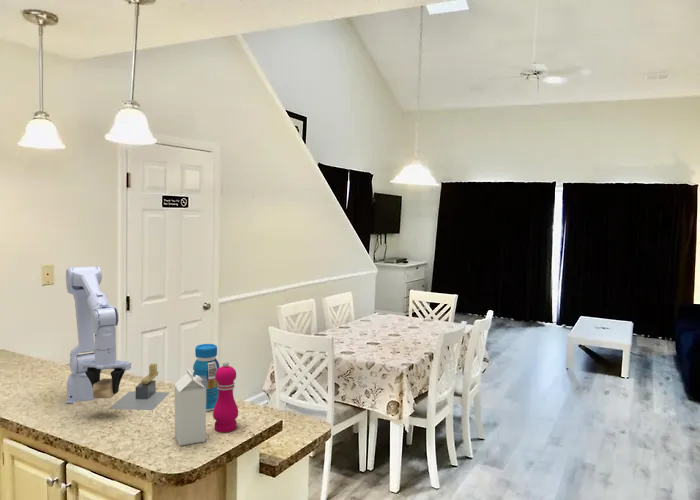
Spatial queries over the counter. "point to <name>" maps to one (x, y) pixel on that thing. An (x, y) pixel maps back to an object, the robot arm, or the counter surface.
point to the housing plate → (139, 402)
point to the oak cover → (103, 389)
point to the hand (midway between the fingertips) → (106, 392)
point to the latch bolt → (150, 374)
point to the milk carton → (190, 410)
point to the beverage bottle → (207, 372)
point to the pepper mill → (225, 399)
